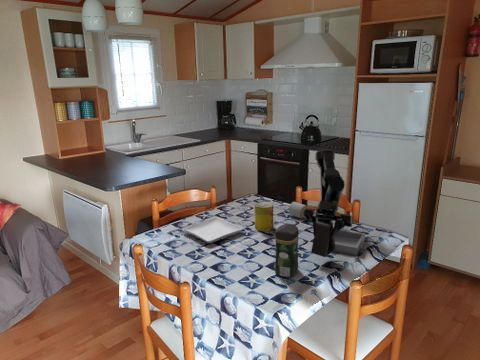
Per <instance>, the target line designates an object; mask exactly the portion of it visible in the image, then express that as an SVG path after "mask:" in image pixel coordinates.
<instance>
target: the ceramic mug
mask: <svg viewBox="0 0 480 360" xmlns="http://www.w3.org/2000/svg"><path fill="white" fill-rule="evenodd" d="M306 208H307V209H309V207H308V206H307V205H306V204H303V203H301V202H296V201H292V202H291V203H290V205H289V207H288V213H289V215H290V216H292V217H295V218H297V219H298V218H299V219H306V218H305V216H304V215H303V213H304V210H305V209H306Z"/></svg>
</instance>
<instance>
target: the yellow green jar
mask: <svg viewBox="0 0 480 360" xmlns="http://www.w3.org/2000/svg"><path fill="white" fill-rule="evenodd" d="M254 229H255V230H256V231H258V230H259V232H269V231H270V232H271V231H273V229H274V203H273V202H269V201H259V202H256V203H254Z"/></svg>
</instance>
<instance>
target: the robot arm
mask: <svg viewBox="0 0 480 360" xmlns="http://www.w3.org/2000/svg"><path fill="white" fill-rule="evenodd" d="M335 154H336V153H335V151H334V150H333V149H321V150H318V151H316V152H315V156H314V158H315V159H314V160H315V161H316V165H317V167H318V169H319V170H320V171H319V174H320V176H319V177H320V201H319V203H318V204H317V207H316V211H315V209H313V208H308V209H307V208H306V209H305V210H304V213H303V215H304V216H305V218H304V219H305V220H306V221H310V222H311V223H312V227H313V231H312V232H313V236H314V235H315V231H316V223H317V222H318V221H321V222H325V223H328V224H332V225H333V231H332V234H331V239H333V237H334V236H335V235H336V233H337V232H338V231H339V230H342V229H343V228H345V227H347V228H348V227H349V228H352V227H353V224H354V223H353V218H352V217H353V216H352V215H351V214H347V213H340V215H339V216H338V215H337V212H338V210H339V204H340V199H341V196H342V193H343V191H344V188H345V185H346V184H345V181H344V179H343V177H342V176H341V175H340V172H339V170H337V169H336V167H335V160H336V159H335V158H336V157H335V156H336V155H335Z"/></svg>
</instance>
